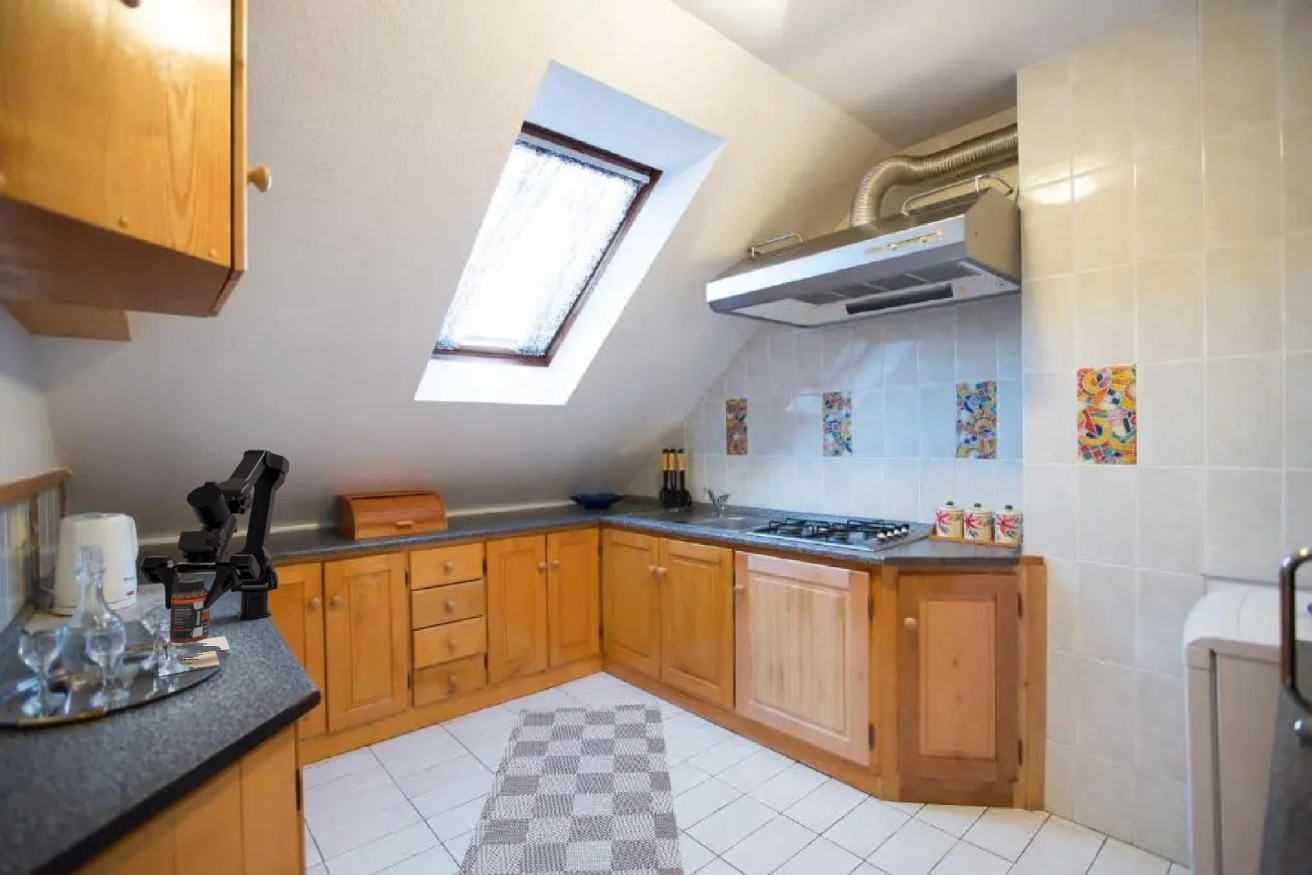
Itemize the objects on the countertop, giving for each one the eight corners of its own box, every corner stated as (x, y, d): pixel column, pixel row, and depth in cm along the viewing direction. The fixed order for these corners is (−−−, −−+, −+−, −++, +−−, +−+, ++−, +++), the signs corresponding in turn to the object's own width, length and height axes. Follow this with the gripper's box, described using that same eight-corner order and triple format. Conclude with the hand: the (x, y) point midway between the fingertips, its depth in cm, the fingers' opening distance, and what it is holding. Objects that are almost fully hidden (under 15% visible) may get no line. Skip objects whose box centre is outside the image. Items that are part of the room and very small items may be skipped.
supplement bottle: (209, 641, 118) (210, 581, 118) (169, 646, 115) (170, 584, 114) (208, 632, 123) (210, 574, 123) (170, 637, 119) (171, 578, 119)
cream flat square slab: (165, 645, 129) (165, 644, 129) (225, 636, 135) (225, 635, 135) (167, 659, 121) (167, 658, 121) (230, 649, 127) (230, 648, 127)
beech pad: (157, 662, 119) (157, 659, 119) (215, 653, 125) (215, 650, 125) (158, 676, 112) (158, 673, 112) (219, 666, 118) (219, 663, 118)
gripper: (146, 514, 120) (110, 585, 109) (256, 513, 125) (231, 582, 114) (166, 547, 128) (134, 618, 117) (269, 546, 132) (247, 613, 122)
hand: (186, 607), depth 117 cm, fingers closed on supplement bottle, 6 cm apart
